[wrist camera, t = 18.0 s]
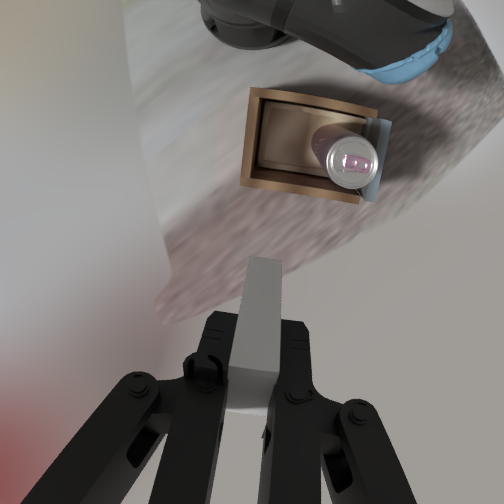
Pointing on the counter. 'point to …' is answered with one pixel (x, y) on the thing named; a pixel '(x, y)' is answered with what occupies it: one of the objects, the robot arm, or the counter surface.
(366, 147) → the beverage can
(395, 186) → the counter surface
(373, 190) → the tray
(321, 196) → the caddy
